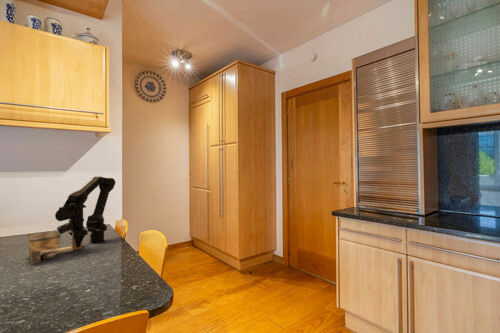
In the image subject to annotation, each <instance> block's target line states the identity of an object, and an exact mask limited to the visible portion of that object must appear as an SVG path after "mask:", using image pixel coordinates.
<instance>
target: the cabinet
mask: <svg viewBox="0 0 500 333" xmlns="http://www.w3.org/2000/svg"><path fill="white" fill-rule="evenodd" d="M61 236H62V234H60V233H59V232H58V231H57V230H50V231H49V230H48V231H43V232H42V231H41V232H36V233H29V234H27V238H28V258H29V261H30V263H31V264H32V265H33V264H37V263H41V252H42V251H47V250H53V249H58V248H60V238H61Z"/></svg>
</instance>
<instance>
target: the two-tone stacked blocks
mask: <svg viewBox="0 0 500 333" xmlns="http://www.w3.org/2000/svg"><path fill="white" fill-rule="evenodd" d="M82 242H83V241H82ZM82 242H81V245H80V247H78V248H77V247H76V242H75V239H73V238H72V239H71V245H70V246H65V247H59V248H55V249H50V250H44V251H40V258H43V252H46V251H51V250H55V251H56V255H57V254H62V253H68V252H73V251H77V250H82V248H83V247H82V245H83V243H82Z"/></svg>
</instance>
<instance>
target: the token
mask: <svg viewBox="0 0 500 333" xmlns="http://www.w3.org/2000/svg"><path fill="white" fill-rule="evenodd" d="M50 250H51V251H47V250H45V251H46V252H43V256H42V259H45V260H46V259H47V260H48V259H51V258H52V259H53V258H54V257H56V256H57V254H56V251H55V250H53V249H50Z"/></svg>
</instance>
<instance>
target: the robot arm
mask: <svg viewBox="0 0 500 333" xmlns="http://www.w3.org/2000/svg"><path fill="white" fill-rule="evenodd" d="M115 186H116V180H115V179H114V178H113V177H103V176H94V177H92V178H91V180H90V181H88V182H87V183H86V184H85V185H84V186H82V188H80V189H78V190H76V191H74V192H72V193H70V194H69V195H68V196H67V199H66V201H65V202H64V204H63V205H62V206H61V207H60V206H59V207H58V209H57V210H56V212H55V214H54V217H55V219H56V221H58V222H63V221H67V220H68V222H67V223H64V224H62V225H59V226H57V227H56V231H57V232H58V233H59V234H60V235H62V234H64V233H66V232H67V233H68V234H69V235H70V236H71V237H72V239H75V242H76V247H77V248H78V247H80V245H81V242H83V241H84V238H85V237H86V236H88V234H89V233H90V234H89V243H91V244H96V243H102V242H106V239H105V232H106V231H107V230H108V226H107V225H106V224H105V218H104V211H105V210H106V205H107V202H108V198H109V194H110V192H111V191H113V190H114V188H115ZM96 188H99V193H98V197H97V201H96V203H95V207H94V211H93V213H92V214H91V215H88V216H87V220H86V222H85V224H86V225H84V221H85V218H84V209H85V208H87V205H85V202H86V201H87V200H88V198H89V195H90V194H91V193H92V192H93V191H94V190H95V189H96ZM85 226H86V228H85Z"/></svg>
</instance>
